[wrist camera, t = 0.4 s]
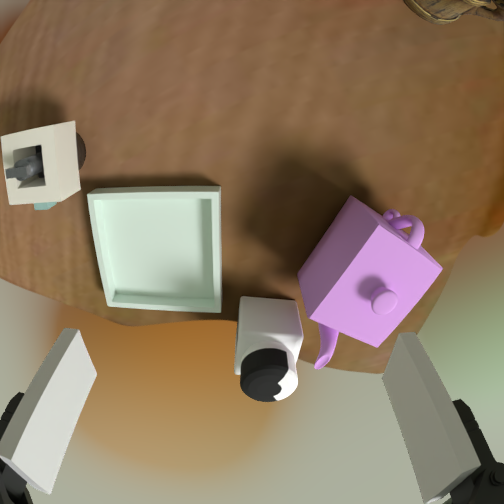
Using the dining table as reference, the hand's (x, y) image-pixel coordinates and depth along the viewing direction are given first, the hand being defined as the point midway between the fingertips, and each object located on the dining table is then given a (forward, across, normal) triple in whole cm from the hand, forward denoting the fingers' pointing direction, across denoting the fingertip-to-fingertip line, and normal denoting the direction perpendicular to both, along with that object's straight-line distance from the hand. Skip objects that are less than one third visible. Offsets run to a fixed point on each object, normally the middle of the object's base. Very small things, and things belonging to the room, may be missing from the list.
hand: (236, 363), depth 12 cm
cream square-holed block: (+23, -23, +5) cm, 33 cm away
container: (+27, +3, -19) cm, 34 cm away
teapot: (+28, +13, -10) cm, 32 cm away
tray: (+27, -11, -8) cm, 31 cm away
